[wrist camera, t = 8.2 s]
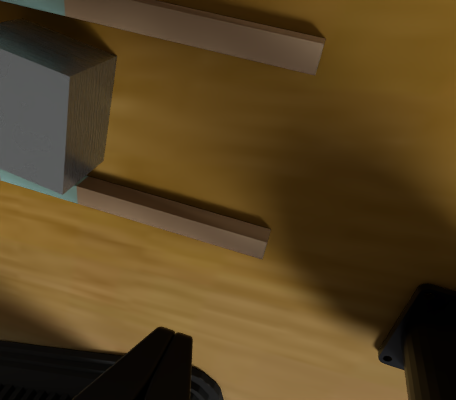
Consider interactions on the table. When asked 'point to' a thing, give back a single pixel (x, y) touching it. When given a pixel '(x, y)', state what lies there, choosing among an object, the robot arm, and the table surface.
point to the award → (67, 373)
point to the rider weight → (52, 105)
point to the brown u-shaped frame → (197, 37)
